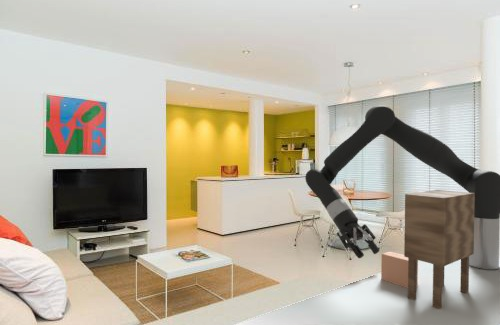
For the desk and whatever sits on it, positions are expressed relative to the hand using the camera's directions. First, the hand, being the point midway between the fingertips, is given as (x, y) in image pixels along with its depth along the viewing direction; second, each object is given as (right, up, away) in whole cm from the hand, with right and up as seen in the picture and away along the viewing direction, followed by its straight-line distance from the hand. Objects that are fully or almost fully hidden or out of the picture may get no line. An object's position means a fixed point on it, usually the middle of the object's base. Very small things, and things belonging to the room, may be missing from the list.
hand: (369, 254), depth 110 cm
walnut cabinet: (+13, -6, -17) cm, 22 cm away
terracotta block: (+6, -6, -8) cm, 12 cm away
